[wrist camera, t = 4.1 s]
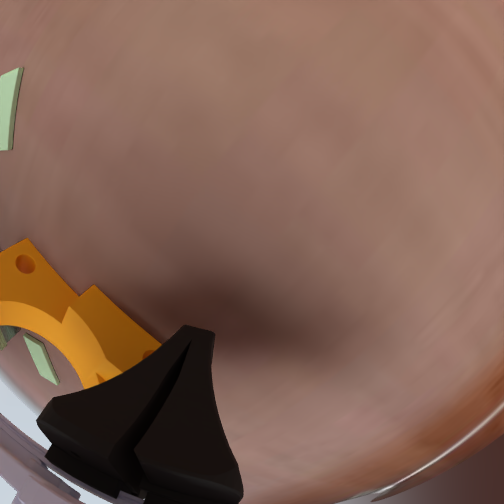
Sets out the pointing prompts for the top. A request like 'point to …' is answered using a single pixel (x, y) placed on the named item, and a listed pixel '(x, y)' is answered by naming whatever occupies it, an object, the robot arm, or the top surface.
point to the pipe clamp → (69, 317)
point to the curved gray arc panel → (7, 334)
